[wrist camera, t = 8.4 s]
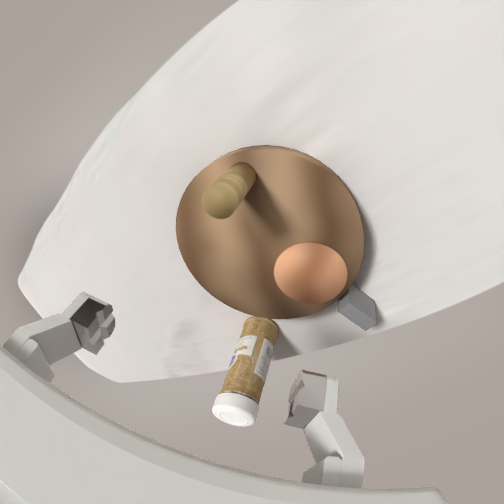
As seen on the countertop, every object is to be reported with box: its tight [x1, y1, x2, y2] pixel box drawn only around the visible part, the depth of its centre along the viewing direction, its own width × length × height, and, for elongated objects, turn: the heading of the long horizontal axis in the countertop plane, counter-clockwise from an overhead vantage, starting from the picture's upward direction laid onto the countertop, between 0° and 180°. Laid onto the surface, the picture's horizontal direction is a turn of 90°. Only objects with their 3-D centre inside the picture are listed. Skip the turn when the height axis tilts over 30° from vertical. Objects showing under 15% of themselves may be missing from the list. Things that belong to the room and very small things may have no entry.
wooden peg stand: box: [176, 145, 364, 319], centre depth 26 cm, size 18×18×8 cm
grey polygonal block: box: [338, 284, 377, 331], centre depth 30 cm, size 4×2×4 cm, turn 57°
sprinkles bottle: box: [212, 316, 278, 426], centre depth 32 cm, size 5×5×14 cm
